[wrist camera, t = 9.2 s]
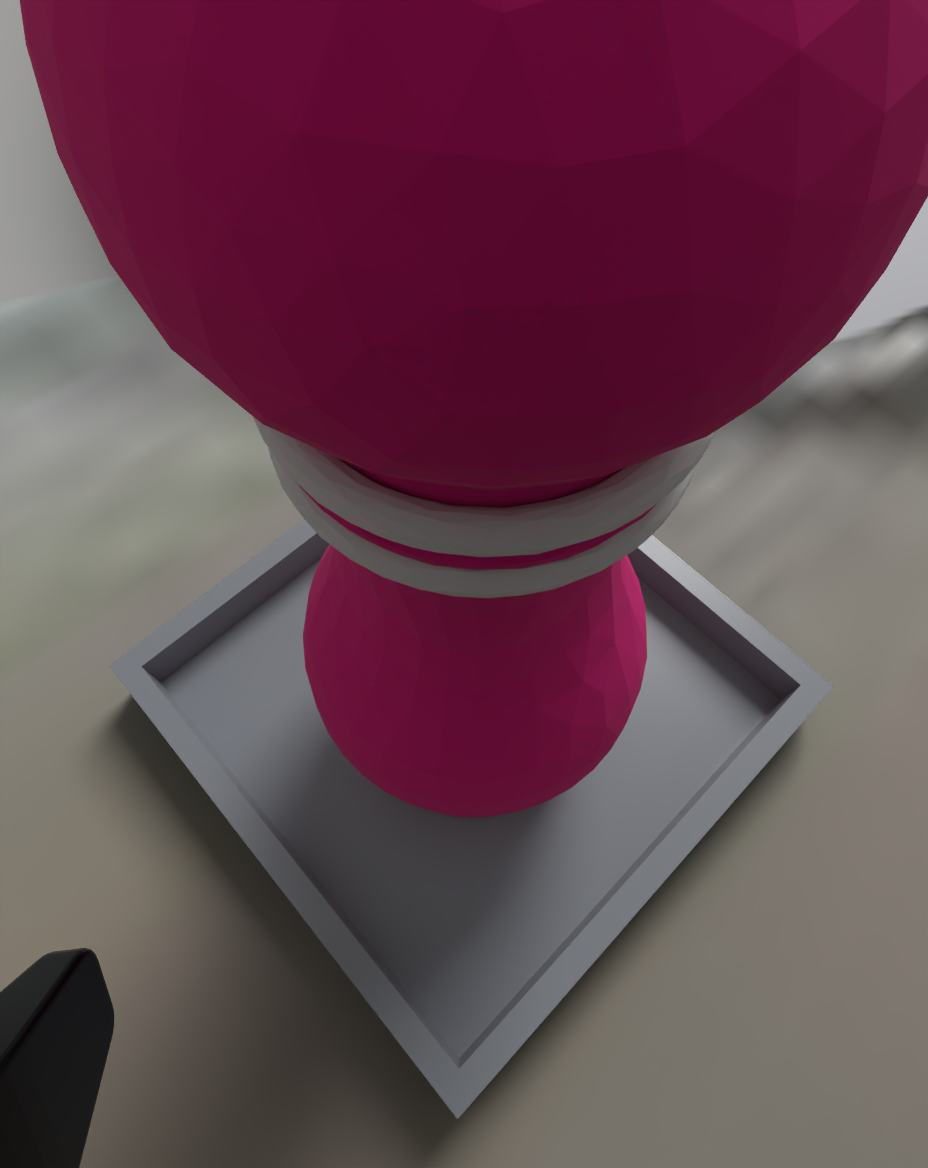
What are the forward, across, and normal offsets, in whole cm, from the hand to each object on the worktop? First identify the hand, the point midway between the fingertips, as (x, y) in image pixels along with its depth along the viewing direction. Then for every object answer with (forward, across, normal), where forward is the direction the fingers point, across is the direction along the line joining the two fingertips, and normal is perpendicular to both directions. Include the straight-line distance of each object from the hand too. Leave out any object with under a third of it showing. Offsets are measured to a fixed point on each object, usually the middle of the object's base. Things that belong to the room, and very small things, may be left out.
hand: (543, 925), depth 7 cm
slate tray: (+12, 0, +4) cm, 13 cm away
